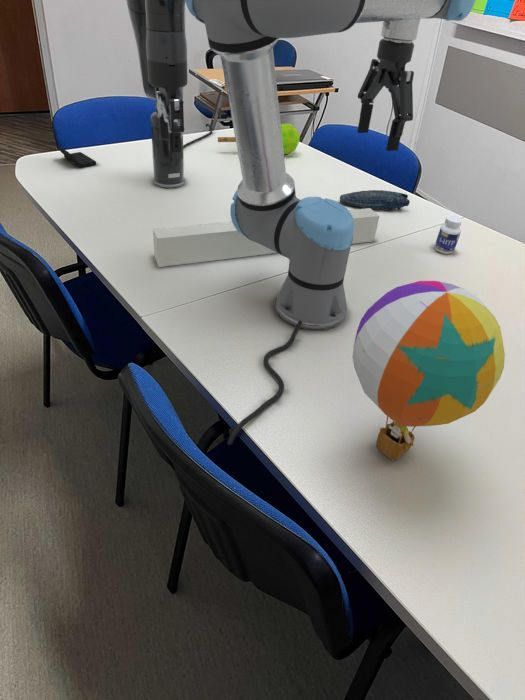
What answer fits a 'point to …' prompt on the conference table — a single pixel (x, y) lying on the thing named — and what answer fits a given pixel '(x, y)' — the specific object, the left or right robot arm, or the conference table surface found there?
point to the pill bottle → (448, 235)
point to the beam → (231, 240)
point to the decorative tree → (288, 137)
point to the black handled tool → (77, 158)
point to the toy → (426, 358)
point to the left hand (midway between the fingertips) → (170, 144)
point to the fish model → (376, 199)
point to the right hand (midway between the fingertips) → (376, 141)
